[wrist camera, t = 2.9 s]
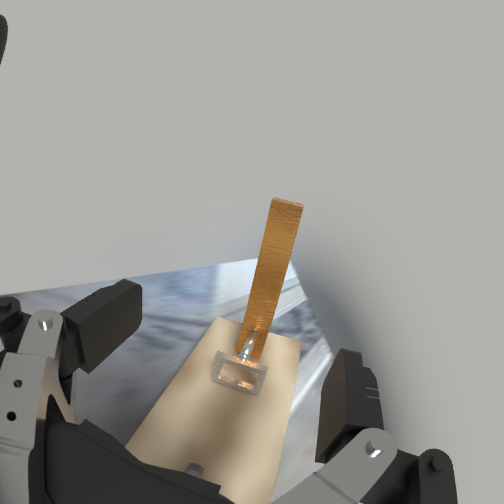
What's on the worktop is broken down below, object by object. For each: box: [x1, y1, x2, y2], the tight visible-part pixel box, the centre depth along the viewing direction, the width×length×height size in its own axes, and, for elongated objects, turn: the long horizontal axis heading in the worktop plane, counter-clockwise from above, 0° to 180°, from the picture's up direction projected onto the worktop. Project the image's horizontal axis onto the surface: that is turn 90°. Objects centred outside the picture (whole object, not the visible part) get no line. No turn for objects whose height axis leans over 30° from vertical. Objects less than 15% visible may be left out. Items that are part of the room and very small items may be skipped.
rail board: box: [125, 316, 302, 504], centre depth 18 cm, size 10×26×2 cm, turn 167°
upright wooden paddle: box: [211, 197, 304, 396], centre depth 23 cm, size 4×10×15 cm, turn 167°
